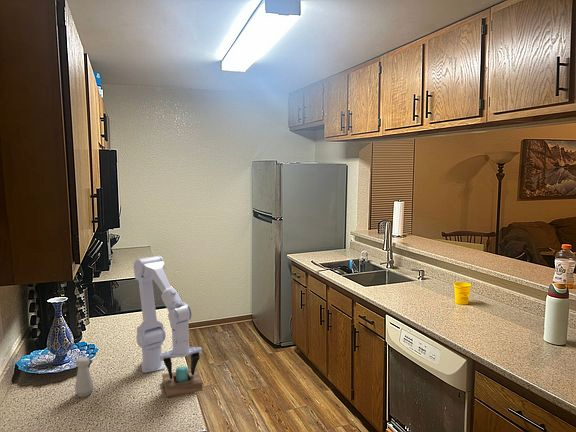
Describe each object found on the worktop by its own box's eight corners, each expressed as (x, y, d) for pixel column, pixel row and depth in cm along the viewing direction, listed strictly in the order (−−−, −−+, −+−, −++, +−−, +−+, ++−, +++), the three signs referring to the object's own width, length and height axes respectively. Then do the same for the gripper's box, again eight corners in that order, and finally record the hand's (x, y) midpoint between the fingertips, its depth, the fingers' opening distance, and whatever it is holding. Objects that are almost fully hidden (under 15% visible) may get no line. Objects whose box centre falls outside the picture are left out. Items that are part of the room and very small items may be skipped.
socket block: (162, 382, 161) (162, 374, 161) (195, 375, 166) (195, 368, 166) (167, 397, 150) (167, 389, 150) (202, 390, 155) (202, 382, 155)
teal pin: (175, 383, 159) (175, 367, 159) (186, 381, 161) (186, 365, 160) (177, 388, 156) (177, 372, 155) (188, 386, 157) (188, 370, 157)
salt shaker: (88, 388, 157) (86, 353, 156) (96, 393, 153) (94, 357, 152) (72, 395, 153) (70, 359, 151) (80, 400, 149) (77, 363, 147)
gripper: (161, 346, 150) (162, 384, 151) (203, 339, 156) (204, 376, 157) (158, 339, 156) (159, 376, 158) (199, 333, 162) (200, 368, 164)
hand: (181, 375), depth 158 cm, fingers open, 7 cm apart
